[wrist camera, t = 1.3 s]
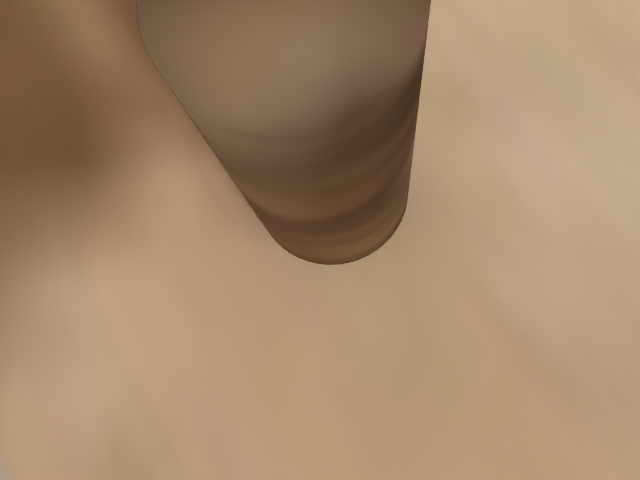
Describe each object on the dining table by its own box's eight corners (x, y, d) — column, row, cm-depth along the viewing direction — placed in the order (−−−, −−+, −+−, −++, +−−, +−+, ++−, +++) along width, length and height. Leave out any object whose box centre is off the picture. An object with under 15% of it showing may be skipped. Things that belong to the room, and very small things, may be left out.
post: (383, 283, 21) (381, 157, 10) (237, 240, 22) (91, 81, 11) (425, 142, 22) (466, -109, 11) (285, 107, 23) (197, -157, 12)
